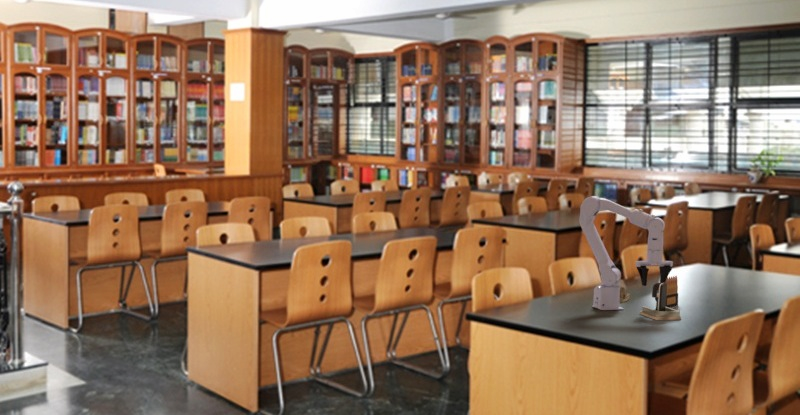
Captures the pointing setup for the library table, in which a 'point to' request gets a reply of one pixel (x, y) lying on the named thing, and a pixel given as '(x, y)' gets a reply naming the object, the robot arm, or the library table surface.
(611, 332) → the library table surface
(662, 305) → the battery
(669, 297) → the ammunition clip
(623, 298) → the ceramic model
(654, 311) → the battery dock
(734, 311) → the library table surface
